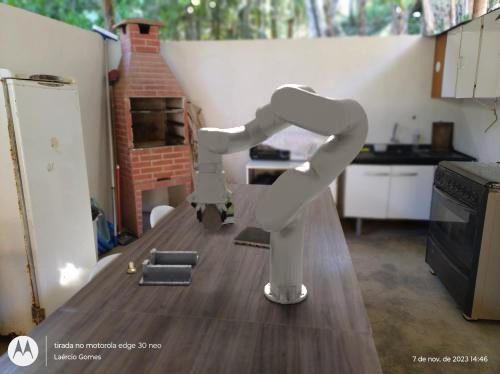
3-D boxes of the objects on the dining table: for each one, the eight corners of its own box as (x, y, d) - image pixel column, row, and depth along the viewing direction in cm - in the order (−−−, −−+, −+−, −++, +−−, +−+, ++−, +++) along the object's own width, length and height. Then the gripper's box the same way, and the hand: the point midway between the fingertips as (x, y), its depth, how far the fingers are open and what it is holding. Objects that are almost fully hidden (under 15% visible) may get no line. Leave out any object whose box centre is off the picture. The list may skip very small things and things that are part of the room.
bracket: (189, 284, 117) (188, 270, 115) (139, 284, 117) (138, 269, 116) (198, 257, 137) (198, 244, 135) (156, 256, 137) (155, 244, 136)
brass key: (136, 273, 125) (136, 270, 125) (127, 274, 124) (127, 272, 124) (135, 263, 132) (135, 261, 131) (127, 265, 131) (126, 262, 131)
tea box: (234, 223, 172) (234, 192, 168) (213, 226, 168) (212, 194, 165) (224, 214, 185) (224, 185, 182) (204, 216, 182) (203, 187, 178)
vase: (212, 224, 128) (211, 199, 126) (227, 228, 123) (226, 202, 121) (197, 229, 122) (196, 203, 120) (212, 234, 118) (211, 207, 116)
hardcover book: (289, 252, 142) (289, 246, 142) (233, 244, 150) (233, 238, 149) (299, 237, 157) (299, 232, 156) (248, 230, 164) (248, 225, 164)
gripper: (180, 169, 114) (183, 225, 119) (237, 169, 114) (238, 225, 119) (185, 165, 122) (187, 217, 126) (238, 165, 122) (239, 217, 126)
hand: (212, 221), depth 122 cm, fingers closed on vase, 6 cm apart
